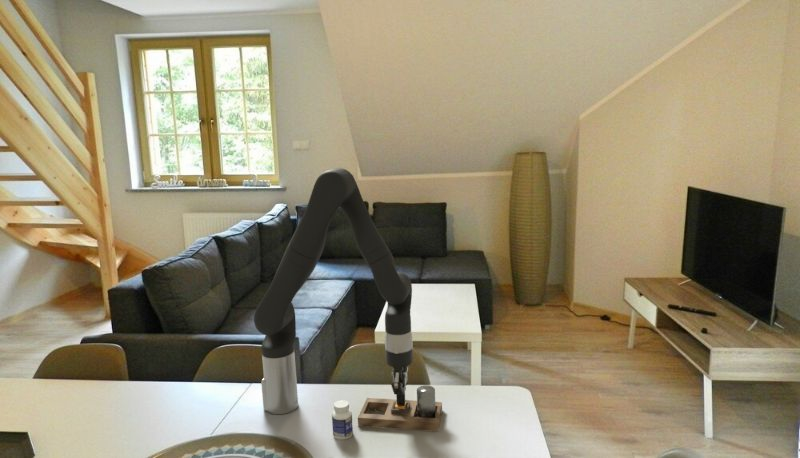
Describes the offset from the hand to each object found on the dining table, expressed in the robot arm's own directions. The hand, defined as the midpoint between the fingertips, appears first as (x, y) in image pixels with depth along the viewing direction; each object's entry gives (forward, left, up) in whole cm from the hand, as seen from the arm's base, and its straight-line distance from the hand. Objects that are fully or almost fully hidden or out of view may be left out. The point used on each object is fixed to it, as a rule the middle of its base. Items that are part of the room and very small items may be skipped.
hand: (401, 404), depth 150 cm
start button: (0, 0, -1) cm, 1 cm away
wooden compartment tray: (0, 0, -4) cm, 4 cm away
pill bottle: (-14, -10, -4) cm, 18 cm away
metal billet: (+7, 0, -4) cm, 8 cm away
